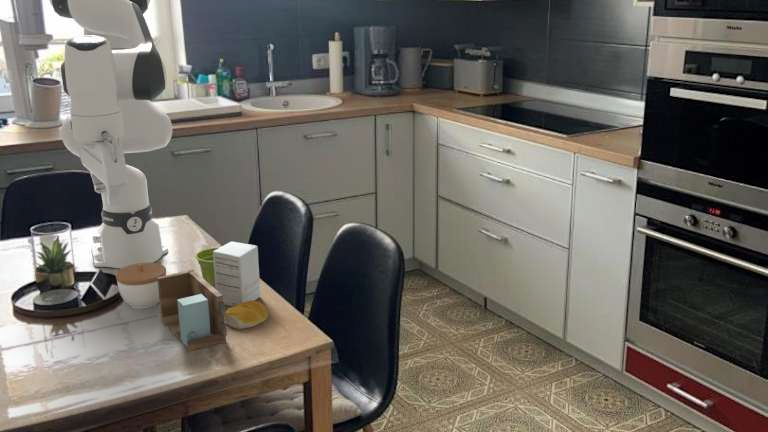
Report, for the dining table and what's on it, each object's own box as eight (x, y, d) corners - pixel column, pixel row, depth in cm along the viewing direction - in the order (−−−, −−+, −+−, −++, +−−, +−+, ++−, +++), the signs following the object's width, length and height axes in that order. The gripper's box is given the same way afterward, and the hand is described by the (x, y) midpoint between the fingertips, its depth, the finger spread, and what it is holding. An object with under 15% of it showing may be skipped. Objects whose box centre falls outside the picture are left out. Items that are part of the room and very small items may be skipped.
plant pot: (229, 278, 187) (227, 244, 185) (245, 290, 180) (243, 255, 177) (192, 286, 183) (189, 252, 180) (207, 299, 175) (204, 264, 172)
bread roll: (274, 317, 167) (274, 300, 166) (245, 333, 160) (244, 315, 159) (247, 308, 171) (246, 291, 170) (217, 323, 164) (216, 305, 163)
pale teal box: (181, 340, 157) (177, 299, 154) (204, 333, 159) (201, 293, 156) (189, 349, 153) (185, 307, 150) (213, 342, 155) (210, 301, 153)
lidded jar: (154, 289, 181) (150, 252, 178) (178, 303, 174) (174, 264, 171) (110, 303, 174) (106, 264, 171) (134, 317, 167) (129, 277, 164)
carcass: (161, 320, 165) (157, 277, 162) (196, 311, 169) (192, 269, 166) (191, 353, 151) (187, 306, 148) (228, 342, 155) (225, 297, 152)
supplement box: (234, 291, 180) (231, 240, 175) (261, 297, 177) (258, 245, 173) (215, 303, 173) (211, 250, 169) (242, 309, 170) (239, 256, 166)
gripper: (132, 135, 136) (140, 210, 140) (101, 115, 152) (109, 182, 156) (95, 140, 133) (104, 216, 137) (67, 119, 149) (77, 188, 153)
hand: (107, 198), depth 147 cm, fingers open, 8 cm apart
